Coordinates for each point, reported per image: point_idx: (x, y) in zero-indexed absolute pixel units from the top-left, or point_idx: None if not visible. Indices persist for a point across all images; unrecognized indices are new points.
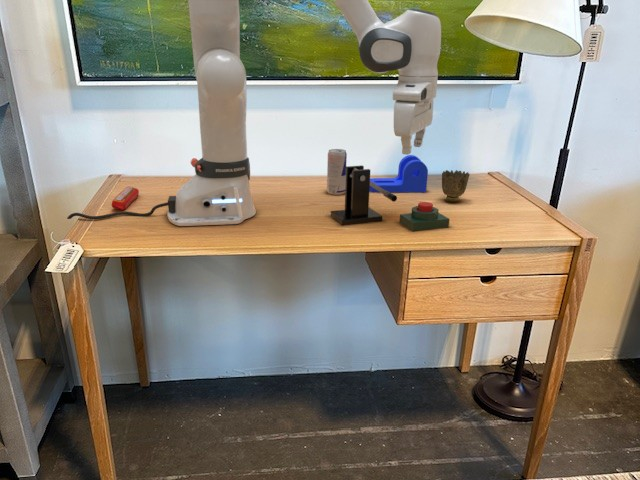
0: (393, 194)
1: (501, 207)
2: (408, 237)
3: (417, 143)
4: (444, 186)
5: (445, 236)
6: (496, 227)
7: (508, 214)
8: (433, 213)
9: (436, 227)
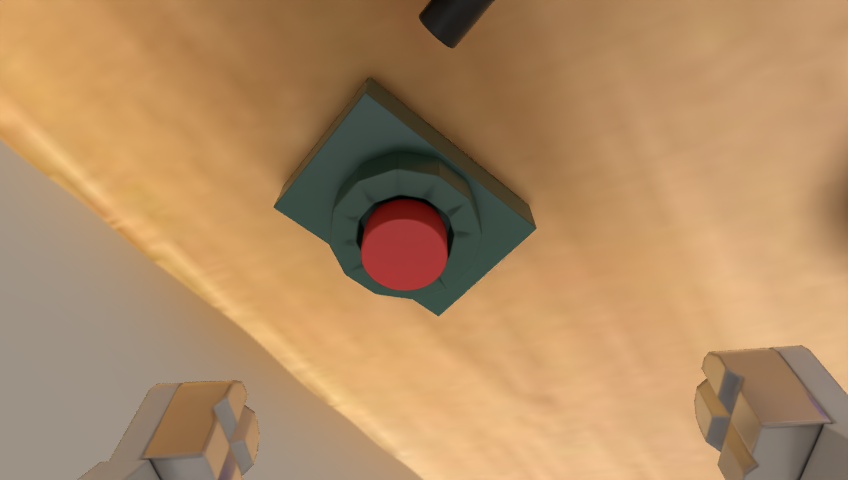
0: (463, 15)
1: None
2: (198, 198)
3: (732, 413)
4: None
5: (319, 311)
6: (533, 415)
7: None
8: (369, 288)
9: None
